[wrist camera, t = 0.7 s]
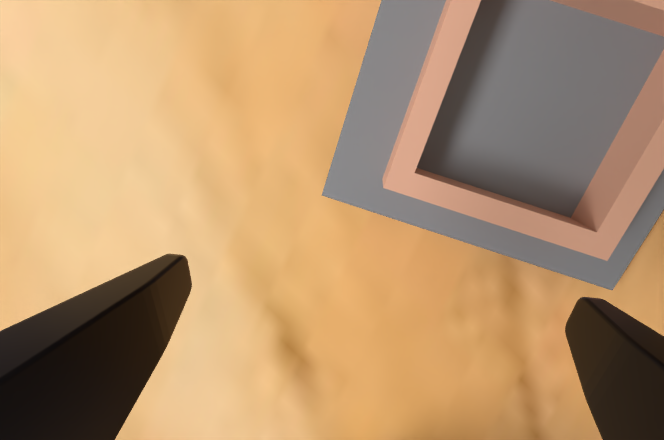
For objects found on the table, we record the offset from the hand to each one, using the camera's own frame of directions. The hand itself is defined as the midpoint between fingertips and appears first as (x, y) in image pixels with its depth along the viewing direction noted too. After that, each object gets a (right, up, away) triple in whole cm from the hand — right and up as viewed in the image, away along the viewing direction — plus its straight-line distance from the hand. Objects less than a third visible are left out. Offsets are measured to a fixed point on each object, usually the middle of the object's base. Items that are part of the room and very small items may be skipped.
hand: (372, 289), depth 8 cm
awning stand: (+10, +9, +11) cm, 17 cm away
